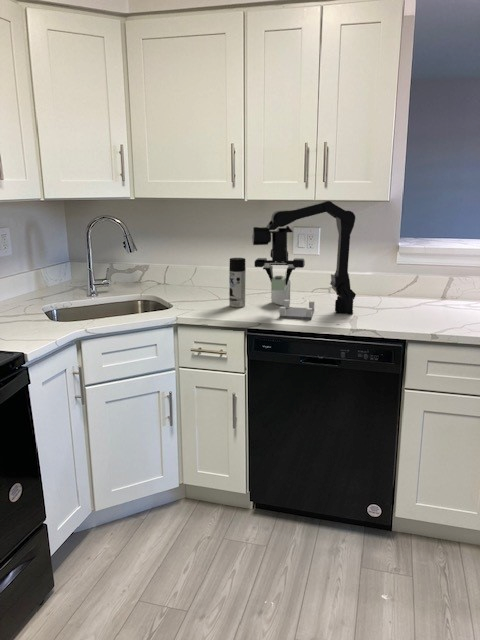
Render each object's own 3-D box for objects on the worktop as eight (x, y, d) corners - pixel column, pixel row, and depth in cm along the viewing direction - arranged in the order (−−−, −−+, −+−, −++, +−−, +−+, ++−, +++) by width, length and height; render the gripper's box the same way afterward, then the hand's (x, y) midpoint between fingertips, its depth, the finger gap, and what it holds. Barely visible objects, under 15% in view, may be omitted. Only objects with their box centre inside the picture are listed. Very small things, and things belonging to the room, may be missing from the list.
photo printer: (269, 302, 223) (270, 274, 220) (277, 301, 225) (278, 273, 222) (282, 306, 215) (283, 277, 212) (291, 305, 217) (292, 276, 214)
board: (287, 286, 204) (287, 274, 203) (284, 290, 196) (284, 277, 195) (274, 285, 205) (274, 273, 204) (271, 290, 197) (271, 277, 196)
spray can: (226, 305, 217) (226, 257, 212) (240, 303, 220) (241, 256, 215) (233, 308, 212) (233, 259, 207) (248, 306, 215) (248, 258, 210)
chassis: (314, 310, 208) (314, 301, 207) (311, 319, 194) (311, 309, 193) (284, 309, 210) (284, 299, 209) (279, 318, 196) (279, 307, 195)
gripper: (306, 242, 202) (305, 281, 206) (259, 242, 206) (259, 280, 210) (303, 245, 191) (303, 287, 195) (254, 245, 195) (254, 285, 199)
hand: (279, 284), depth 200 cm, fingers closed on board, 5 cm apart
